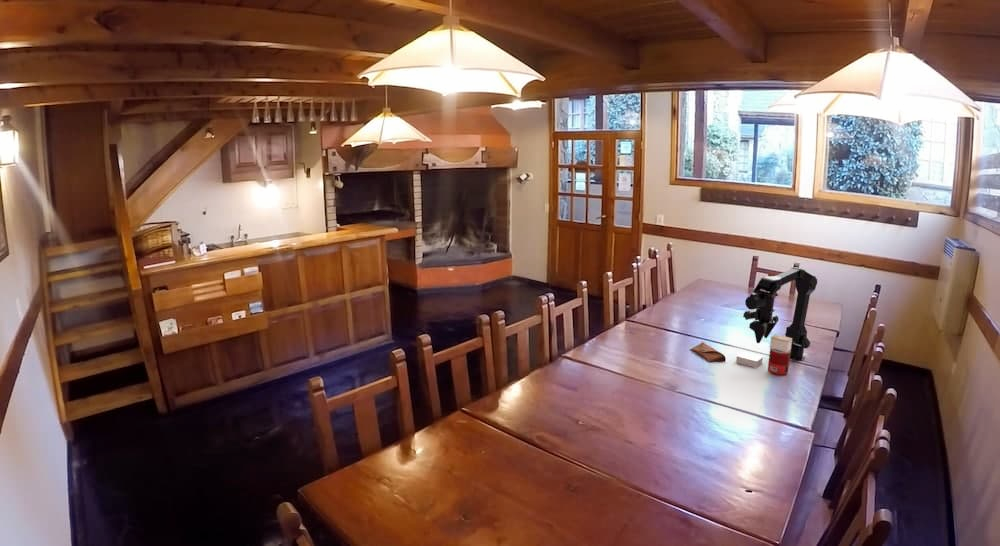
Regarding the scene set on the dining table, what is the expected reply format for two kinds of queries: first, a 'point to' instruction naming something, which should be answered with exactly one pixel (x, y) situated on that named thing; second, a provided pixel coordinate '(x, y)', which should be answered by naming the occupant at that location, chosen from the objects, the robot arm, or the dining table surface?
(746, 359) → the pale pink chamfered block
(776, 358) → the canned food
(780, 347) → the cream box
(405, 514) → the dining table surface
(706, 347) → the sunglasses case
